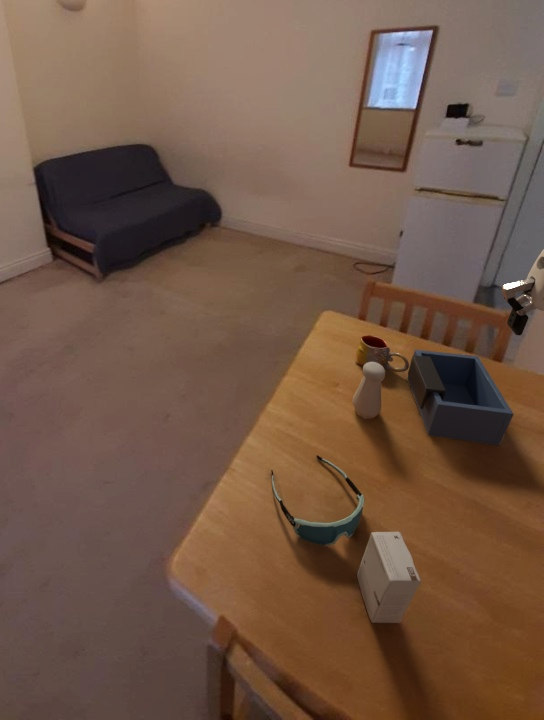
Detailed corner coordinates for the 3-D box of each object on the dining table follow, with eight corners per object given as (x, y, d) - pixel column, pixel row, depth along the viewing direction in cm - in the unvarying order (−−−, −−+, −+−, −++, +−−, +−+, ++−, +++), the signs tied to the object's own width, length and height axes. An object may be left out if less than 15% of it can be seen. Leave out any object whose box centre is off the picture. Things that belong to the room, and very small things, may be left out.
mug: (350, 362, 103) (354, 341, 100) (362, 348, 107) (366, 328, 104) (399, 386, 95) (405, 365, 92) (410, 371, 99) (416, 350, 96)
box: (467, 385, 94) (478, 356, 91) (499, 445, 81) (513, 414, 77) (407, 378, 97) (414, 349, 93) (427, 435, 83) (438, 404, 79)
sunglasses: (304, 561, 64) (304, 538, 62) (261, 482, 78) (261, 462, 76) (378, 531, 67) (381, 509, 66) (325, 461, 81) (326, 441, 79)
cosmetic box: (355, 574, 62) (367, 529, 57) (384, 574, 62) (399, 528, 57) (371, 626, 57) (387, 581, 51) (403, 626, 57) (422, 580, 51)
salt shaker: (370, 427, 85) (381, 381, 80) (345, 410, 90) (354, 366, 84) (384, 412, 89) (395, 367, 83) (359, 396, 93) (368, 353, 87)
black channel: (424, 376, 92) (430, 356, 90) (439, 411, 84) (446, 391, 81) (407, 374, 93) (412, 354, 91) (420, 408, 84) (426, 388, 82)
